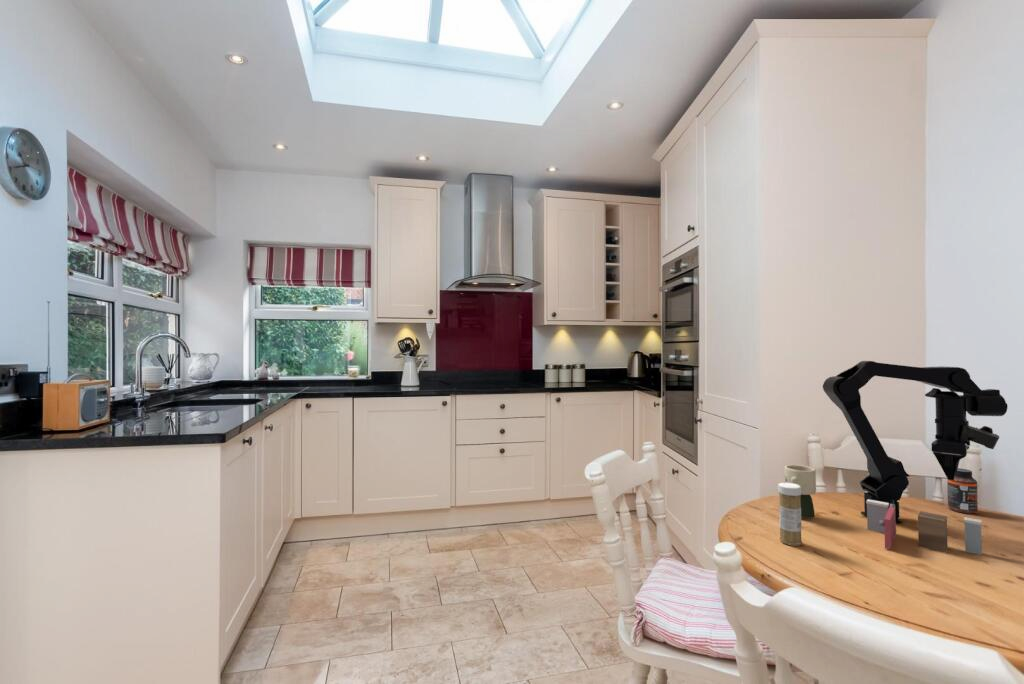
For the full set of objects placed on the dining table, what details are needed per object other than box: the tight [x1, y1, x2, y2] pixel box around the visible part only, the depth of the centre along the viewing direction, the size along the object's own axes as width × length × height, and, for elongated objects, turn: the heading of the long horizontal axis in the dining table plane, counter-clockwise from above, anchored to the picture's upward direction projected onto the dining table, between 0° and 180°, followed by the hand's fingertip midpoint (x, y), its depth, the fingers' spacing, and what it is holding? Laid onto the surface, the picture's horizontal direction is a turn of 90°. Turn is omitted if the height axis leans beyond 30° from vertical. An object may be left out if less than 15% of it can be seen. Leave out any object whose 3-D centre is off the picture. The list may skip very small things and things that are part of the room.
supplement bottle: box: [946, 467, 979, 515], centre depth 127 cm, size 6×6×11 cm
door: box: [879, 507, 897, 550], centre depth 107 cm, size 11×2×6 cm, turn 136°
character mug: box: [784, 464, 817, 519], centre depth 124 cm, size 11×7×13 cm, turn 129°
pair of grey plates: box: [866, 499, 983, 556], centre depth 108 cm, size 20×2×7 cm, turn 43°
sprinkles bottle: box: [777, 482, 803, 547], centre depth 107 cm, size 5×5×14 cm
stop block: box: [917, 510, 949, 554], centre depth 105 cm, size 4×4×7 cm
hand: (952, 476), depth 118 cm, fingers open, 9 cm apart
